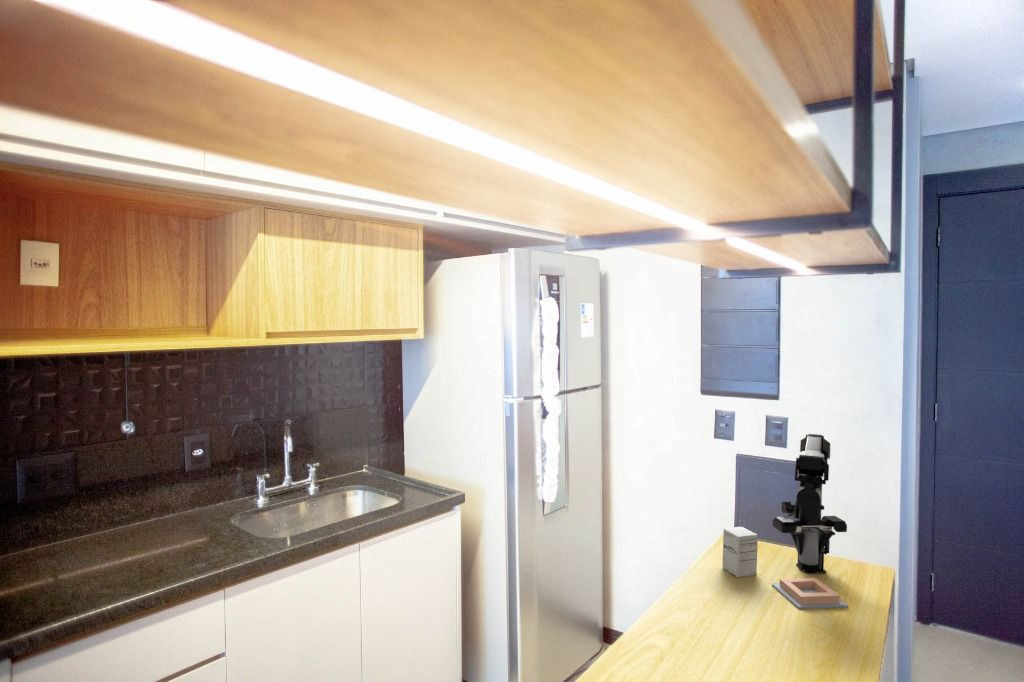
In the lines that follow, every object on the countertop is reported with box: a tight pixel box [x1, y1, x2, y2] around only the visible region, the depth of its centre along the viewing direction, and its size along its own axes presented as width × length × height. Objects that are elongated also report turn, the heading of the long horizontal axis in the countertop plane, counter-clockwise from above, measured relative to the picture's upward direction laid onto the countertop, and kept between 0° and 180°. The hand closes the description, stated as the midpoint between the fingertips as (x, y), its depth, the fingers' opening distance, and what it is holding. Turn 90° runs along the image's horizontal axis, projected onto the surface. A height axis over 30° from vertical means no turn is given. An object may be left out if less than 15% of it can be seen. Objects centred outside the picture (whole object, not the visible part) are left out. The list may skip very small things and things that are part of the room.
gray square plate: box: [771, 577, 849, 610], centre depth 168 cm, size 14×14×3 cm
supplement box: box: [722, 526, 759, 578], centre depth 184 cm, size 7×7×13 cm
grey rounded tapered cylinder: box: [799, 528, 819, 565], centre depth 168 cm, size 5×5×9 cm
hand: (808, 554), depth 168 cm, fingers closed on grey rounded tapered cylinder, 5 cm apart
